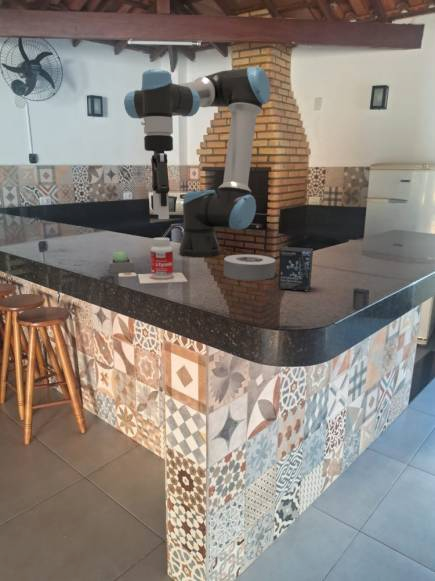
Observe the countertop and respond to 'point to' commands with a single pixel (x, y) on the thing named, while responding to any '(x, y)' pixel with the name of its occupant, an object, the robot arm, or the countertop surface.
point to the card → (127, 274)
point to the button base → (121, 266)
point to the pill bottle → (161, 258)
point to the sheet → (149, 279)
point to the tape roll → (249, 267)
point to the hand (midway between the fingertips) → (161, 216)
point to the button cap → (120, 256)
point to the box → (295, 268)
